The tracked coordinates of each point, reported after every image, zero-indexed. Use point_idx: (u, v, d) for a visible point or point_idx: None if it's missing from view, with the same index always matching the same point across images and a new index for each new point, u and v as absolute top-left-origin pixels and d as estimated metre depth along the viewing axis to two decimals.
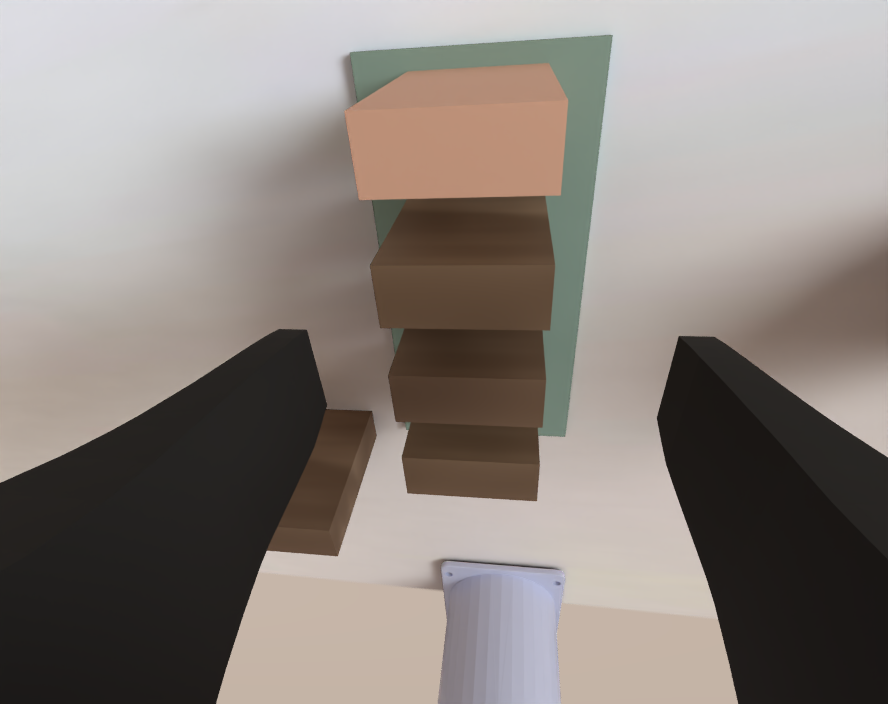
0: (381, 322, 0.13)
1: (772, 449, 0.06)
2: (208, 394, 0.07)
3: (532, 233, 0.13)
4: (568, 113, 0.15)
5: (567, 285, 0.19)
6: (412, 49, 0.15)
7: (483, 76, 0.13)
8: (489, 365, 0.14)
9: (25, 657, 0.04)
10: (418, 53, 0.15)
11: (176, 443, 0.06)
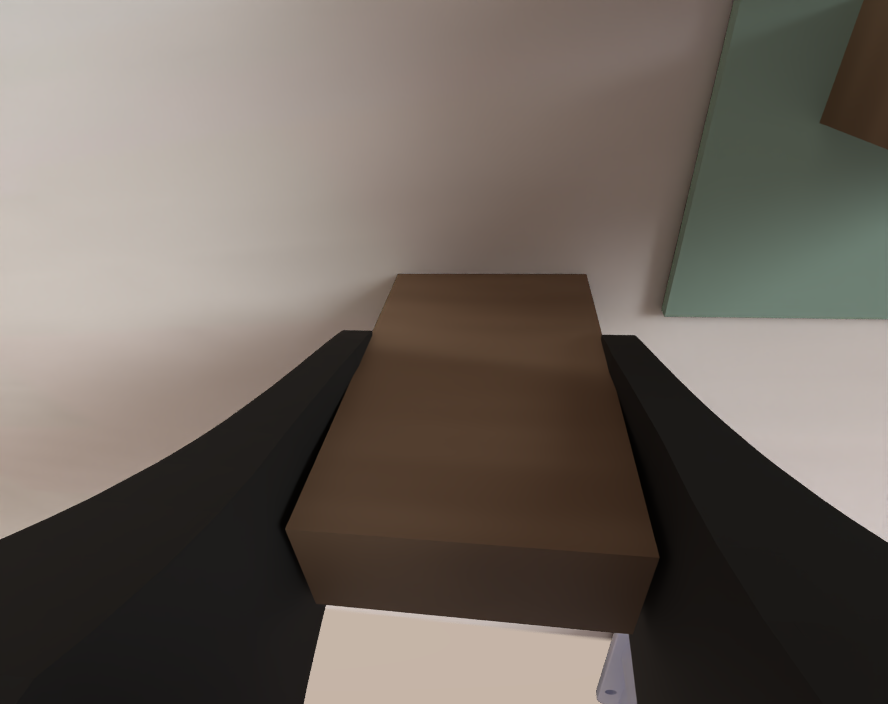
0: None
1: (657, 444, 0.06)
2: (292, 397, 0.07)
3: None
4: None
5: None
6: None
7: None
8: None
9: (163, 674, 0.04)
10: None
11: (274, 449, 0.06)
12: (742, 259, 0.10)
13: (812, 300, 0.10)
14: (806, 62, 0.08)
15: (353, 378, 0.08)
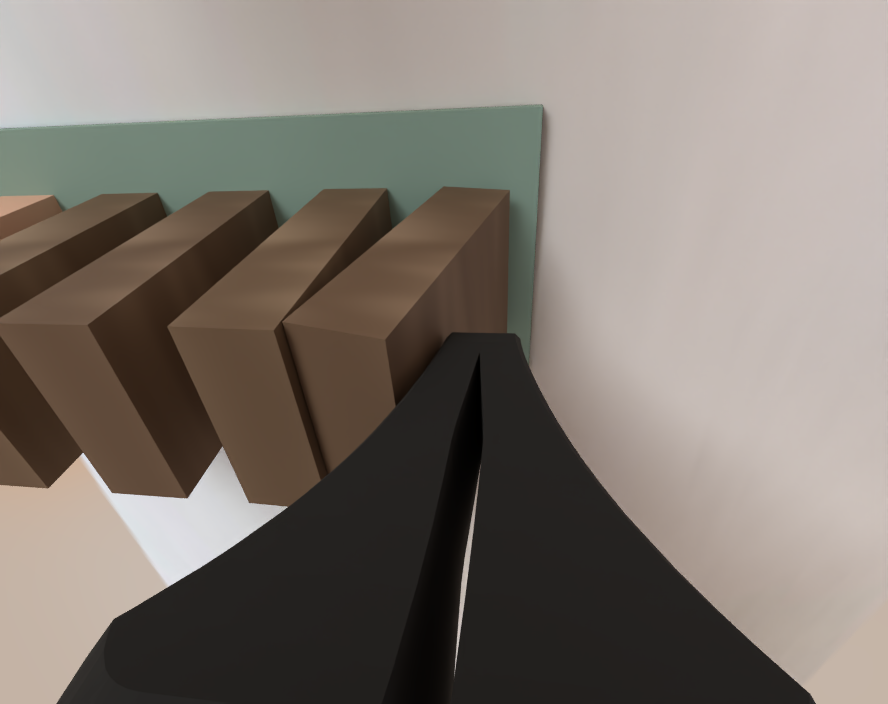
0: (40, 486, 0.11)
1: (483, 436, 0.06)
2: (440, 403, 0.07)
3: None
4: (29, 170, 0.14)
5: (221, 145, 0.13)
6: None
7: None
8: None
9: None
10: None
11: (448, 458, 0.06)
12: None
13: (517, 295, 0.14)
14: None
15: None
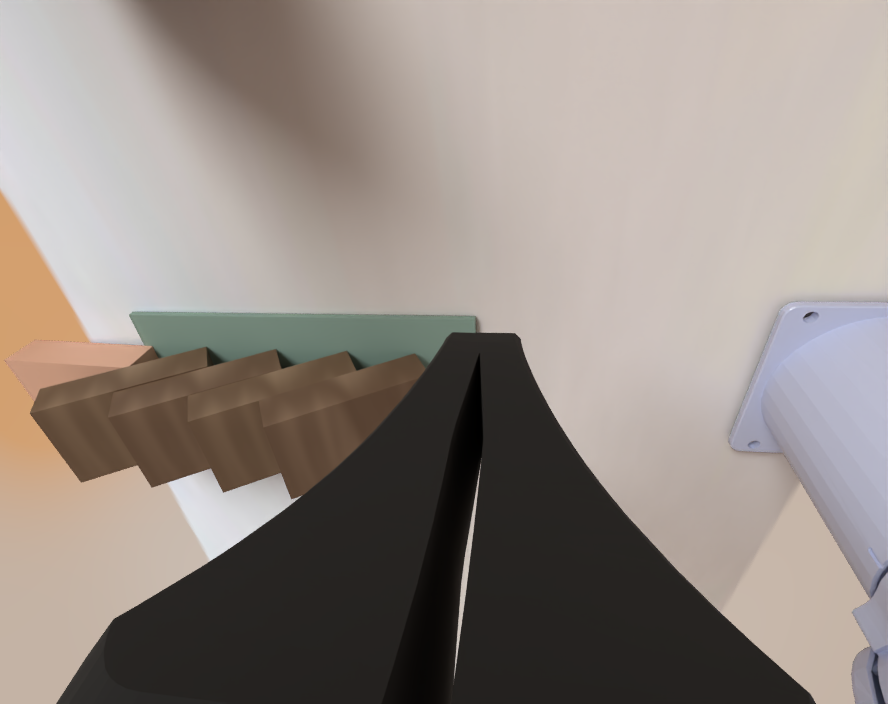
0: None
1: (483, 436, 0.06)
2: (439, 403, 0.07)
3: None
4: (176, 334, 0.23)
5: (294, 328, 0.22)
6: None
7: None
8: None
9: None
10: None
11: (448, 457, 0.06)
12: None
13: None
14: None
15: None
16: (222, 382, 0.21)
